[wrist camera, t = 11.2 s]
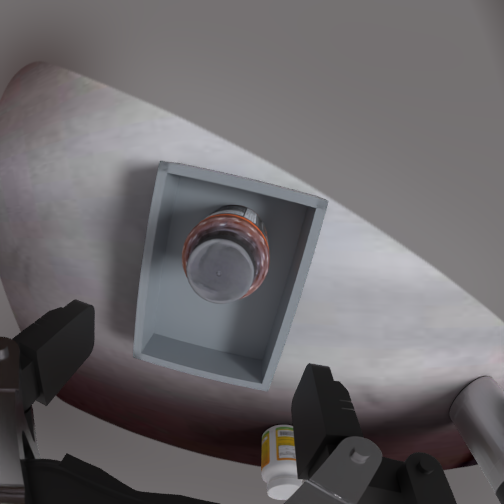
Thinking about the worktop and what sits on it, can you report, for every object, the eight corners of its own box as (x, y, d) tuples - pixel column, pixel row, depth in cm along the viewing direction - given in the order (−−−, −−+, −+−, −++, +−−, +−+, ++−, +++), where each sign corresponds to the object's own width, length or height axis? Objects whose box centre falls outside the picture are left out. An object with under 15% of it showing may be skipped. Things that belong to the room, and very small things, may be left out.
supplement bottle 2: (273, 451, 37) (274, 506, 28) (254, 431, 36) (251, 489, 26) (308, 439, 36) (316, 494, 27) (291, 417, 35) (296, 476, 26)
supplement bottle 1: (263, 270, 29) (263, 327, 18) (200, 262, 29) (167, 313, 18) (271, 207, 28) (278, 229, 17) (206, 199, 28) (171, 217, 17)
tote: (317, 196, 28) (328, 200, 23) (267, 363, 33) (267, 391, 28) (176, 162, 28) (159, 161, 23) (148, 333, 33) (132, 357, 28)
